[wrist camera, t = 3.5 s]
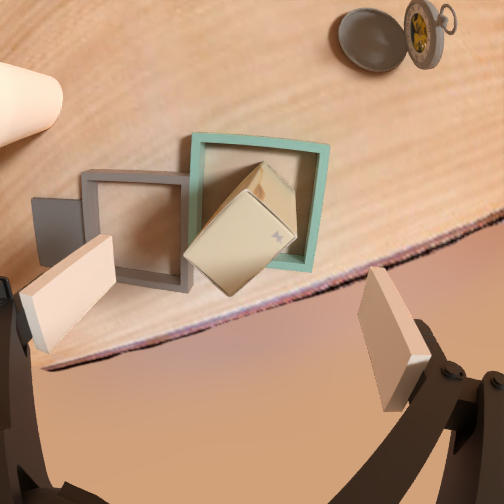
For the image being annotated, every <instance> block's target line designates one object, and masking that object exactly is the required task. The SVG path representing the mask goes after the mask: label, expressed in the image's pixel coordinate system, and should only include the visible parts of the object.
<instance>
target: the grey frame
mask: <svg viewBox="0 0 504 504" xmlns="http://www.w3.org/2000/svg"><path fill="white" fill-rule="evenodd" d="M97 180H99V181H125V182H146V183H163V184H179V185H181V217H180V269H181V276H175V275H168V274H161V273H154V272H147V271H140V270H134V269H127V268H120V267H115V275H116V282H119V283H125V284H131V285H137V286H143V287H149V288H155V289H162V290H168V291H175V292H181V293H189V291H190V290H191V288H192V286H193V265H192V264H191V263H190V262H189V261H188V260H187V259H186V258H185V257H184V256H183V254H184V252H185V251H186V250H187V248H188V224H189V187H190V173H183V172H165V171H143V170H107V169H90V170H87V171H84V172H81V185H82V203H83V217H84V229H85V239H86V243H88V242H89V241H91V240H92V239H94V238H95V237H96V236H98V235H99V234H100V224H99V208H98V186H97Z"/></svg>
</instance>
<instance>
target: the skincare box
mask: <svg viewBox="0 0 504 504" xmlns="http://www.w3.org/2000/svg"><path fill="white" fill-rule="evenodd" d="M296 238H297V219H296V199H295V191H294V190H293V188H292V187H291V186H290V185H289V184H288V183H287V182H286V181H285V180H284V179H283V178H282V177H281V176H280V175H279V174H278V173H277V172H276V171H275V170H274V169H272V168H271V167H270V166H269V165H268V164H267V163H266V162H264V161H263V162H261V163H260V164H259V165H258V166H257V167H256V168H255V169H254V170H253V171H252V172H251V173H250V174H249V175H248V176H247V177H246V178H245V179H244V180H243V181H242V182H241V183H240V184H239V185H238V186H237V187H236V188H235V189H234V190H233V191H232V193H231V194H230V195H229V196H228V197H227V198H226V199H225V200H224V202H223V203H222V204H221V205H220V206H219V208H218V209H217V210H216V211H215V213H214V214H213V216H212V217H211V218H210V219H209V221H208V222H207V223H206V225H205V226H204V227H203V229H202V230H201V231H200V232H199V234H198V235H197V237H196V238H195V239H194V240H193V242H192V243H191V244H190V246H189V247H188V248H187V250H186V251H185V252H184V254H183V256H184V257H185V258H186V259H187V260H188V261H189V262H190V263H191V264H192V265H193V266H194V267H195V268H197V269H198V270H199V271H200V272H201V273H202V274H203V275H204V276H205V277H206V278H207V279H208V280H210V281H211V282H212V283H213V284H214V285H215V286H216V287H217V288H218V289H220V290H221V291H222V292H223V293H224V294H225V295H226V296H228V297H231V296H233V295H234V294H235V293H237V292H238V291H239V290H240V289H241V288H242V287H244V286H245V285H246V284H247V283H248V282H249V281H250V280H251V279H252V278H254V277H255V276H256V275H257V274H258V273H259V272H260V271H262V270H263V269H264V268H265V267H266V266H267V265H268V264H269V263H270V262H271V261H272V260H273V259H275V258H276V257H277V256H278V255H279V254H280V253H281V252H282V251H283V250H284V249H286V248H287V247H288V246H289V245H290V244H291V243H292V242H293V241H294V240H296Z"/></svg>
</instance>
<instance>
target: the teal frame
mask: <svg viewBox="0 0 504 504" xmlns="http://www.w3.org/2000/svg"><path fill="white" fill-rule="evenodd" d="M206 142H211V143H227V144H241V145H253V146H264V147H274V148H283V149H292V150H300V151H308V152H316V153H318V154H317V163H316V171H315V179H314V187H313V194H312V202H311V209H310V216H309V223H308V230H307V237H306V244H305V250H304V256H300V255H292V254H283V253H280V254H279V255H278V256H277V257H276V258H275V259H273V260H272V261H271V262H270V263H269V264H268V265H267V266H266V268H275V269H284V270H292V271H301V272H310V273H312V267H313V262H314V256H315V250H316V244H317V238H318V231H319V225H320V218H321V212H322V205H323V198H324V191H325V184H326V176H327V169H328V161H329V153H330V145H328V144H323V143H316V142H309V141H301V140H293V139H284V138H274V137H264V136H253V135H240V134H225V133H207V132H194V133H192V143H191V162H190V187H189V224H188V247H189V246H190V244H191V243H192V242H193V240H194V239H195V238H196V237H197V235H198V234H199V232H200V231H201V230H202V202H203V180H204V161H205V144H206Z"/></svg>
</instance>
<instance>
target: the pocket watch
mask: <svg viewBox="0 0 504 504" xmlns="http://www.w3.org/2000/svg"><path fill="white" fill-rule="evenodd" d="M445 7H448V8H449V9H450V10H451V11H452V13H453V16H454V28H453V30H452V31H448V30H447V29H446V27H447V22H448V18H447V17H446V16H444V15H443V10H444V8H445ZM443 29H444V30H445V32H446V33H447V34H449V35H453V34H454V33H455V31H456V29H457V19H456V14H455V12H454V10H453V9H452V7H451V6H450V5H448V4H444V5H442V7H441V10H440V14H439V13H438V11H437V9H436V8H435V6H434V5H433V4H432V3H431V2H429V1H427V0H412V1H411V2H410V3H409V5H408V7H407V9H406V13H405V18H404V31H403V29H402V28H401V26H400V25H399V24H398V22H397V21H396V20H395V19H394V18H392V17H391V16H390V15H388V14H387V13H385V12H382V11H380V10H377V9H373V8H358V9H355V10H353V11H351V12H349V13H348V14H347V15H346V16H345V17H344V18H343V19H342V21H341V23H340V25H339V27H338V39H339V43H340V46H341V48H342V50H343V51H344V53H345V55H346V56H347V57H348V58H349V59H350V60H351V61H352V62H353V63H355V64H356V65H358V66H359V67H361V68H364V69H366V70H369V71H374V72H383V71H389V70H391V69H394V68H396V67H397V66H398V65H399V64H400V63H401V62H402V61H403V60H404V58H405V56H406V53H407V51H408V53H409V55H410V57H411V59H412V61H413V62H414V64H415V65H416V66H417V67H418V68H420V69H424V70H427V69H432V68H434V67H435V66H437V64H438V63H439V61H440V59H441V57H442V53H443V48H444V30H443ZM421 30H422V31H421ZM424 39H425V40H424ZM426 39H427V40H426ZM424 42H425V43H426V48H425V43H424ZM422 44H423V47H422Z"/></svg>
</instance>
